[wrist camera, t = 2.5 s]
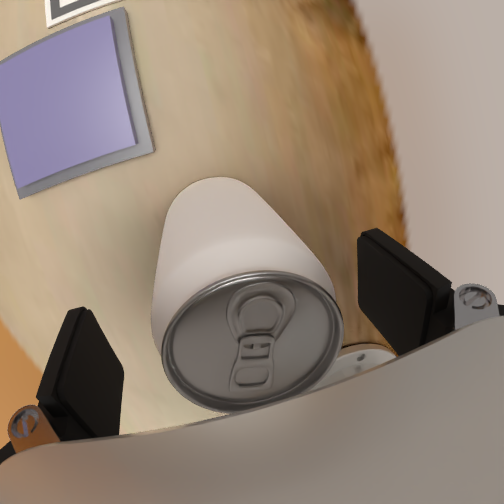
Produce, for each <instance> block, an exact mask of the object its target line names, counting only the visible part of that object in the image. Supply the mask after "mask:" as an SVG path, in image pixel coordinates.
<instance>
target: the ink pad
mask: <svg viewBox="0 0 504 504" xmlns="http://www.w3.org/2000/svg"><path fill="white" fill-rule="evenodd" d="M0 127H1V132H2V136H3V141H4V145H5V149H6V153H7V157H8V161H9V165H10V169H11V172H12V176H13V179H14V183H15V186H16V189H17V192H18V196H19V199H22V198H25V197H27V196H29V195H32V194H34V193H37V192H39V191H41V190H44V189H46V188H49V187H51V186H54V185H56V184H59V183H62V182H64V181H67V180H70V179H72V178H75V177H78V176H80V175H83V174H86V173H89V172H92V171H95V170H98V169H100V168H103V167H106V166H109V165H112V164H116V163H119V162H122V161H125V160H128V159H131V158H135V157H138V156H141V155H145V154H148V153H152V152H154V151H155V150H156V149H155V145H154V141H153V137H152V133H151V129H150V125H149V120H148V116H147V111H146V107H145V103H144V98H143V93H142V89H141V84H140V79H139V74H138V69H137V64H136V59H135V54H134V49H133V44H132V38H131V32H130V27H129V21H128V15H127V12H126V10H125V8H124V7H121V8H118V9H114V10H111V11H108V12H105V13H103V14H100V15H97V16H94V17H92V18H89V19H86V20H84V21H81V22H79V23H76V24H74V25H71V26H69V27H66V28H64V29H62V30H60V31H57V32H55V33H53V34H51V35H49V36H47V37H44V38H42V39H40V40H38V41H36V42H34V43H32V44H30V45H28V46H26V47H25V48H23V49H21V50H19V51H17V52H15V53H14V54H12V55H10V56H8V57H7V58H5V59H3V60H1V61H0Z"/></svg>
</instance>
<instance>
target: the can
mask: <svg viewBox="0 0 504 504" xmlns="http://www.w3.org/2000/svg"><path fill="white" fill-rule="evenodd" d="M151 328H152V335H153V339H154V342H155V345H156V347H157V349H158V351H159V353H160V355H161V358H162V364H163V368H164V371H165V374H166V376H167V378H168V380H169V381H170V383H171V384H172V385H173V387H174V388H175V389H176V390H177V391H178V392H179V393H180V394H181V395H182V396H183V397H185V398H186V399H188V400H189V401H191V402H192V403H194V404H196V405H198V406H201V407H203V408H206V409H209V410H212V411H216V412H221V413H229V414H233V413H237V412H241V411H245V410H249V409H252V408H256V407H259V406H263V405H266V404H270V403H273V402H277V401H280V400H283V399H286V398H290V397H293V396H296V395H299V394H302V393H305V392H308V391H310V390H311V389H312V388H313V387H315V386H316V385H317V384H318V383H319V382H320V381H321V380H322V379H323V378H324V377H325V376H326V374H327V373H328V372H329V371H330V369H331V368H332V366H333V365H334V363H335V361H336V359H337V357H338V355H339V352H340V350H341V346H342V342H343V336H344V325H343V318H342V315H341V312H340V309H339V307H338V305H337V303H336V297H335V291H334V287H333V284H332V281H331V279H330V277H329V275H328V273H327V272H326V270H325V268H324V267H323V265H322V264H321V262H320V261H319V260H318V259H317V257H316V256H315V255H314V254H313V253H312V251H311V250H310V249H309V248H308V247H307V246H306V245H305V244H304V242H303V241H302V240H301V239H300V238H299V237H298V236H297V235H296V234H295V233H294V231H293V230H292V229H291V228H290V227H289V226H288V225H287V224H286V223H285V222H284V221H283V220H282V218H281V217H280V216H279V215H278V214H277V213H276V212H275V211H274V210H273V209H272V208H271V207H270V206H269V205H268V204H267V203H266V202H265V201H264V200H263V199H262V198H261V197H260V196H259V195H258V194H257V193H256V192H255V191H254V190H253V189H252V188H251V187H249V186H248V185H246V184H244V183H243V182H241V181H239V180H236V179H233V178H228V177H213V178H207V179H203V180H199V181H197V182H194V183H192V184H191V185H189V186H188V187H186V188H185V189H184V190H182V191H181V192H180V193H179V194H178V195H177V197H176V198H175V199H174V201H173V202H172V204H171V206H170V208H169V210H168V213H167V216H166V219H165V224H164V229H163V234H162V239H161V245H160V250H159V256H158V262H157V269H156V275H155V282H154V289H153V297H152V308H151Z"/></svg>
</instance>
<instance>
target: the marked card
mask: <svg viewBox="0 0 504 504" xmlns="http://www.w3.org/2000/svg"><path fill="white" fill-rule="evenodd" d="M118 1H122V0H45V11H46V22H47V28H51V27H53V26H56V25H58V24H60V23H62V22H65V21H67V20H69V19H72V18H74V17H77V16H79V15H82V14H84V13H87V12H89V11H92V10H95V9H98V8H100V7H103V6H106V5H109V4H112V3H115V2H118Z"/></svg>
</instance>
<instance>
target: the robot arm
mask: <svg viewBox="0 0 504 504" xmlns="http://www.w3.org/2000/svg"><path fill="white" fill-rule="evenodd" d="M357 257H358V303H359V307H360V309H361V310H362V311H363V313H364V314H365V315H366V316H367V317H368V319H369V320H370V321H371V322H372V323H373V325H374V326H375V327H376V328H377V329H378V331H379V332H380V333H381V334H382V335H383V337H384V338H385V339H386V340H387V342H388V343H389V344H390V345H391V346H392V348H393V349H394V350H395V351H396V353H397V354H398V355H399V356H398V357H396V356H395V355H394V353H393V352H392V351H390V350H389V349H388V348H386V347H384V346H382V345H377V344H359V345H354V346H349V347H346V348H343V349H341V350H340V352H339V355H338V357H337V359H336V361H335V363H334V365H333V366H332V368H331V369H330V371H329V372H328V373H327V374H326V376H325V377H324V378H323V379H322V380H321V381H320V382H319V383H318V384H317V385H316V386H315V387H313V388H312V389H311V390H310V391H308V392H305V393H302V394H299V395H296V396H293V397H290V398H286V399H283V400H280V401H277V402H273V403H270V404H266V405H263V406H259V407H256V408H252V409H249V410H245V411H241V412H237V413H233V414H229V415H225V416H221V417H217V418H212V419H208V420H203V421H199V422H194V423H189V424H184V425H179V426H174V427H169V428H163V429H157V430H151V431H145V432H138V433H131V434H124V435H119V428H120V414H121V402H122V391H123V381H124V370H123V367H122V365H121V363H120V361H119V360H118V358H117V356H116V354H115V353H114V351H113V349H112V348H111V346H110V344H109V342H108V340H107V339H106V337H105V335H104V333H103V331H102V330H101V328H100V326H99V324H98V322H97V320H96V318H95V316H94V314H93V313H92V311H91V310H89V309H88V310H87V309H86V308H85V307H79V308H75V309H71V310H69V311H68V312H67V315H66V317H65V319H64V322H63V324H62V326H61V329H60V331H59V334H58V336H57V339H56V341H55V344H54V347H53V349H52V352H51V354H50V357H49V360H48V363H47V365H46V368H45V371H44V374H43V377H42V380H41V383H40V386H39V389H38V392H37V395H36V398H37V399H38V400H39V403H38V406H35V405H27V406H24V407H22V408H20V409H19V410H17V411H16V412H15V413H14V415H13V416H12V417H11V419H10V421H9V424H8V435H9V438H10V440H11V441H10V442H8V443H7V444H6V445H5V446H4V447H3V448H2V449H0V504H504V305H498V304H497V300H496V297H495V295H494V293H493V292H492V291H491V290H489V289H488V288H486V287H484V286H482V285H479V284H464V285H461V286H460V287H458V288H457V289H456V290H455V291H454V290H453V289H452V288H451V284H452V282H451V281H450V280H448V279H447V278H446V277H444V276H443V275H442V274H440V273H439V272H438V271H436V270H435V269H434V268H432V267H431V266H430V265H429V264H427V263H426V262H425V261H423V260H422V259H420V258H419V257H418V256H416V255H415V254H414V253H412V252H411V251H409V250H408V249H407V248H405V247H404V246H403V245H401V244H400V243H398V242H397V241H395V240H394V239H393V238H391V237H390V236H388V235H387V234H385V233H384V232H383V231H381V230H380V229H378V228H375V229H371V230H368V231H364V232H362V233H361V236H360V237H358V239H357Z"/></svg>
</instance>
